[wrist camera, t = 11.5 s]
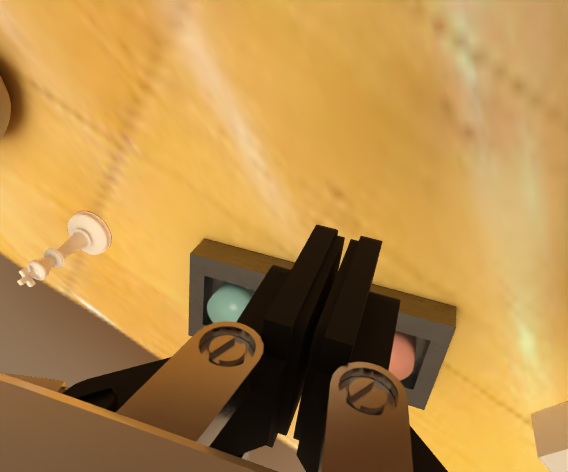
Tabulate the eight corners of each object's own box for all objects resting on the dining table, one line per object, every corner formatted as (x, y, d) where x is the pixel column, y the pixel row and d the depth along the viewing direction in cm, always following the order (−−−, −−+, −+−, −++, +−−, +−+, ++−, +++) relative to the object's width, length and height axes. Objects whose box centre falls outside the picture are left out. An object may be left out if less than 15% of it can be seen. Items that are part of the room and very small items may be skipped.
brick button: (421, 330, 43) (419, 349, 41) (409, 367, 46) (406, 387, 44) (370, 316, 44) (366, 334, 42) (361, 353, 47) (356, 372, 44)
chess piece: (87, 256, 53) (18, 309, 45) (63, 217, 52) (-14, 265, 43) (119, 246, 51) (53, 300, 43) (95, 205, 50) (21, 253, 41)
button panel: (455, 306, 42) (455, 327, 40) (425, 386, 48) (424, 410, 45) (204, 238, 47) (190, 253, 45) (201, 317, 52) (188, 335, 50)
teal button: (263, 285, 46) (254, 301, 44) (259, 322, 49) (250, 338, 47) (219, 272, 47) (207, 287, 45) (217, 309, 50) (206, 325, 48)
